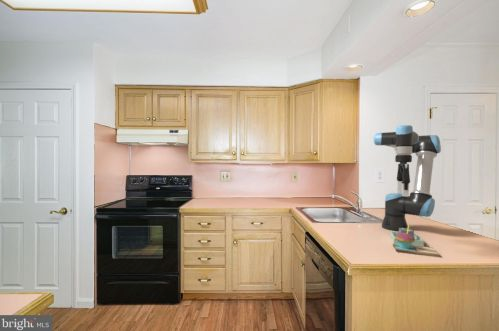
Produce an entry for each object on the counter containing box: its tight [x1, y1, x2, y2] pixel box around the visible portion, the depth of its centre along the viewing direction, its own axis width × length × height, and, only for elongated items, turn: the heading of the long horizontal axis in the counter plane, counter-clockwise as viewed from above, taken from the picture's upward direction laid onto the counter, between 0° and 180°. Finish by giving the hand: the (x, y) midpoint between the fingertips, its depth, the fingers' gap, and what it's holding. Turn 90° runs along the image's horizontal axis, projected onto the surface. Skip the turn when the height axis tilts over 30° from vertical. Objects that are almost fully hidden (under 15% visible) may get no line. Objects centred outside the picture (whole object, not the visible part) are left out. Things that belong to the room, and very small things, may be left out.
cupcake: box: [395, 224, 415, 249], centre depth 129 cm, size 9×8×12 cm
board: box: [392, 242, 441, 258], centre depth 128 cm, size 11×18×1 cm, turn 69°
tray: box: [389, 230, 425, 247], centre depth 143 cm, size 14×14×3 cm
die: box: [398, 228, 415, 237], centre depth 143 cm, size 6×6×6 cm
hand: (402, 194), depth 137 cm, fingers open, 13 cm apart
